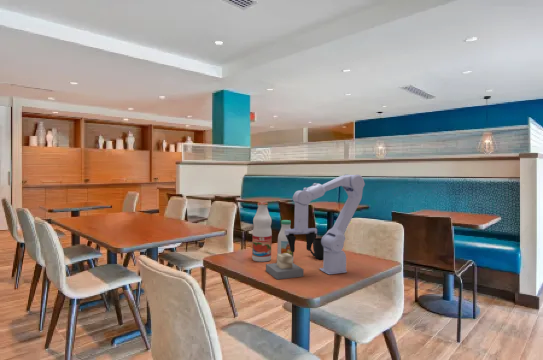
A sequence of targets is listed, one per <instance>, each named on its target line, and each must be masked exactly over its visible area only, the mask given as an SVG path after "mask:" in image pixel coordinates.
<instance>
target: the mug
mask: <svg viewBox="0 0 543 360" xmlns="http://www.w3.org/2000/svg"><path fill="white" fill-rule="evenodd" d="M321 239H322V237H315V239H314V241H313V243H312V249H313V251H312V249H311V250H310V251H309V252H310V253H311V255H312V256H313V257H314V258H315V259H316V260H322V261H323V258H324V247H323V246H322V244H321ZM305 241H306V240H305ZM306 243H307V241H306Z"/></svg>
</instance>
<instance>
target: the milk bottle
mask: <svg viewBox="0 0 543 360" xmlns="http://www.w3.org/2000/svg"><path fill="white" fill-rule="evenodd" d="M291 222H292V221H291V219H289V220H288V219H283V220H281V221H280V224H281V227H280V230H279V233H278V235H277V247H276V248H277V249H276V251H277V254H283V253H288V254H290V255H292V256H293V257H294V252H291V250H290V245H289V242H288V240H287V237H286V235H285V234H284V233H285V230H288V229H292V228H291V224H292V223H291ZM277 254H276V255H277Z"/></svg>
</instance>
